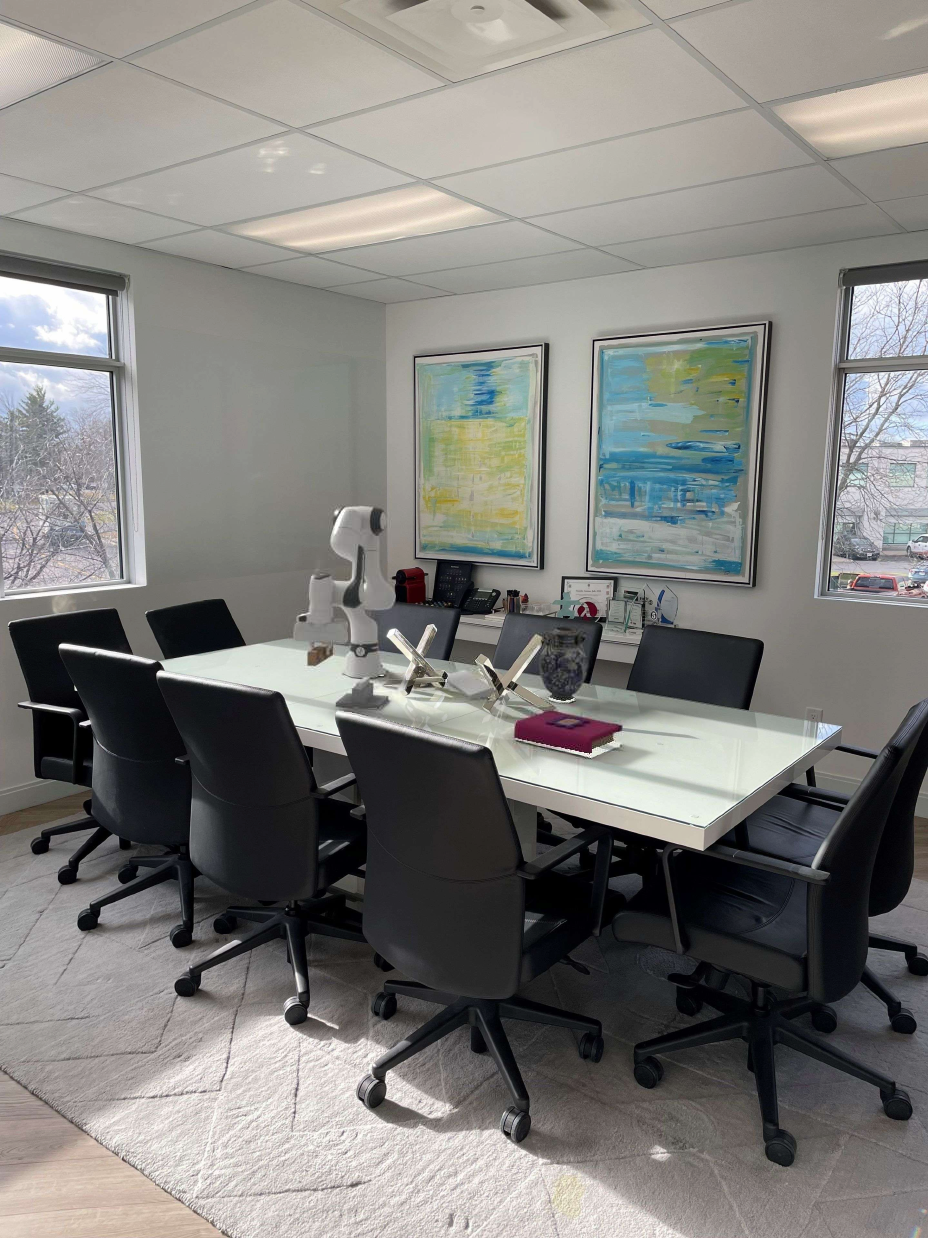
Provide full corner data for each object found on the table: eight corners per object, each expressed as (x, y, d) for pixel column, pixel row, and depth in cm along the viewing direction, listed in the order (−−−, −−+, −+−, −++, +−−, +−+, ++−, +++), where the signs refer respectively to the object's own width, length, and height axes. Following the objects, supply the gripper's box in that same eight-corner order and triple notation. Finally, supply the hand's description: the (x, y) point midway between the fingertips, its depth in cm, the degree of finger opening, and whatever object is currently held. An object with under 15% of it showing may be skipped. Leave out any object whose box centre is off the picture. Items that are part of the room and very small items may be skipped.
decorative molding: (472, 707, 342) (496, 699, 345) (469, 695, 341) (493, 687, 344) (445, 687, 374) (467, 680, 377) (442, 676, 373) (464, 669, 375)
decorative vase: (567, 692, 359) (571, 623, 354) (598, 702, 343) (602, 630, 339) (524, 697, 347) (528, 626, 342) (554, 709, 332) (558, 634, 327)
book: (589, 761, 269) (590, 736, 268) (513, 742, 287) (514, 719, 285) (622, 746, 286) (624, 723, 285) (549, 730, 303) (550, 708, 302)
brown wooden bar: (325, 654, 343) (325, 641, 343) (333, 655, 343) (333, 642, 342) (307, 665, 322) (307, 651, 321) (315, 666, 322) (315, 652, 321)
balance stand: (347, 697, 338) (347, 675, 337) (388, 699, 336) (388, 677, 335) (335, 706, 324) (336, 683, 322) (379, 709, 321) (379, 686, 320)
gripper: (350, 617, 332) (350, 654, 334) (297, 614, 335) (297, 651, 337) (345, 620, 326) (345, 657, 328) (291, 617, 328) (291, 654, 331)
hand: (320, 654), depth 332 cm, fingers closed on brown wooden bar, 3 cm apart
